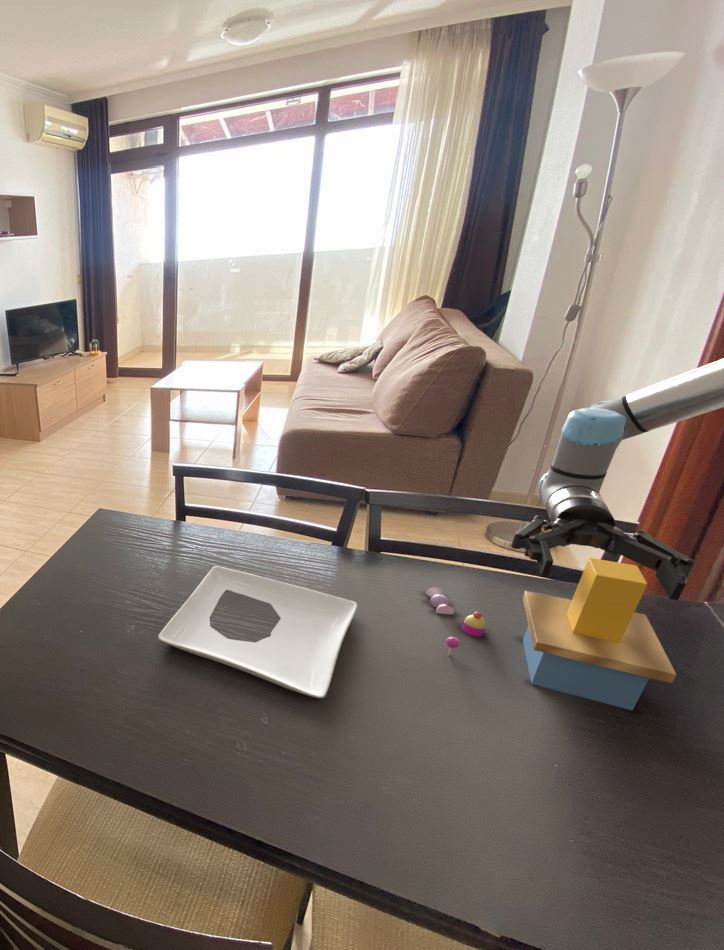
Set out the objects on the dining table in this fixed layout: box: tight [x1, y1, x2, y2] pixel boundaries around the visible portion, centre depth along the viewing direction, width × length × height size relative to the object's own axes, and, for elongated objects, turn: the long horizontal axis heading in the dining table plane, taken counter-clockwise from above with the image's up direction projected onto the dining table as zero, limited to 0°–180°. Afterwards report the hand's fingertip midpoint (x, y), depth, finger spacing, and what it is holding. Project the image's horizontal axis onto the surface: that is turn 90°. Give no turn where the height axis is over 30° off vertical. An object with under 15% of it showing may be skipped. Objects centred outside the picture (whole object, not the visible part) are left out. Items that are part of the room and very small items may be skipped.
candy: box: [425, 586, 487, 657], centre depth 93 cm, size 18×8×6 cm, turn 164°
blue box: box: [522, 625, 650, 711], centre depth 81 cm, size 11×11×8 cm
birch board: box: [522, 590, 677, 684], centre depth 79 cm, size 14×14×2 cm
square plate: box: [157, 565, 358, 699], centre depth 96 cm, size 27×27×4 cm
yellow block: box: [567, 557, 648, 643], centre depth 76 cm, size 5×5×10 cm
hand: (609, 579), depth 76 cm, fingers open, 13 cm apart
